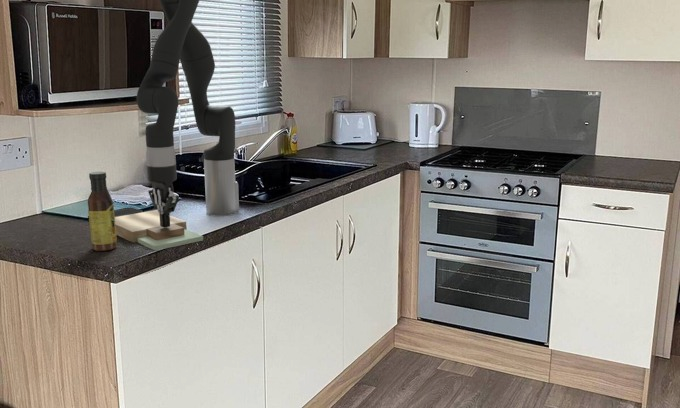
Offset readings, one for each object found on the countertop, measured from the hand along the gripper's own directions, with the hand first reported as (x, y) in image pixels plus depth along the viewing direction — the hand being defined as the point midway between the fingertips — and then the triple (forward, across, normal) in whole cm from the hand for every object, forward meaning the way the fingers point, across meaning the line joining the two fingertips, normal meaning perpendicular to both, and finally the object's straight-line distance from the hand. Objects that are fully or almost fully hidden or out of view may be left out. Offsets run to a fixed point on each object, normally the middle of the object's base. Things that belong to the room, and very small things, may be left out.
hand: (165, 226), depth 184 cm
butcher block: (+4, +12, 0) cm, 13 cm away
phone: (+4, +34, -1) cm, 34 cm away
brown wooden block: (+2, 0, 0) cm, 2 cm away
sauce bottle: (+4, +3, +16) cm, 17 cm away
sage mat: (+4, -2, 0) cm, 4 cm away
